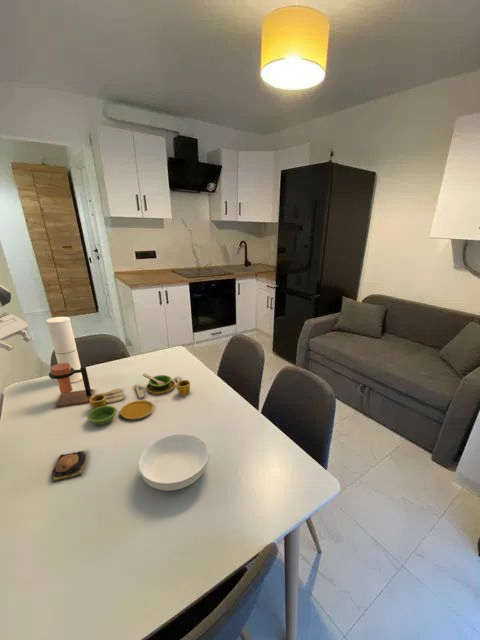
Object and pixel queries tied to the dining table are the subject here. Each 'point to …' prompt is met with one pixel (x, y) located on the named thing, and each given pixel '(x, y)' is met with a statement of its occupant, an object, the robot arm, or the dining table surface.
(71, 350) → the container
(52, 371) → the orange wooden peg
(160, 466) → the serving bowl
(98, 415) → the tableware set
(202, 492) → the dining table surface
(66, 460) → the open sandwich
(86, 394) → the cup holder
